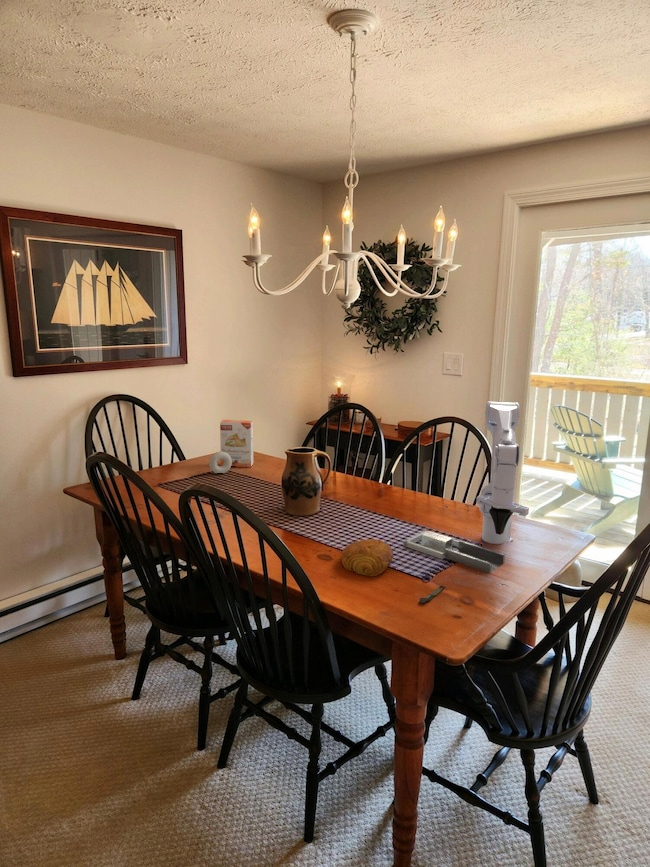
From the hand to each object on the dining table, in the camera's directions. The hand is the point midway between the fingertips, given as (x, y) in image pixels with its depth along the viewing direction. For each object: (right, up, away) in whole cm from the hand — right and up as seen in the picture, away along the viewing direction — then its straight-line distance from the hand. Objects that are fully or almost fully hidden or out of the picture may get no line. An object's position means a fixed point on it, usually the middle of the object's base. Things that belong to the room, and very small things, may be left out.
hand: (499, 533), depth 158 cm
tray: (-16, -7, +11) cm, 21 cm away
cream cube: (-14, -7, +9) cm, 18 cm away
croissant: (-37, -9, +1) cm, 38 cm away
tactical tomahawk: (-20, -13, -12) cm, 27 cm away
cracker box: (-89, +13, +98) cm, 133 cm away
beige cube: (-17, -6, +12) cm, 22 cm away
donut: (-94, +10, +85) cm, 127 cm away
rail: (-6, -9, +2) cm, 11 cm away
